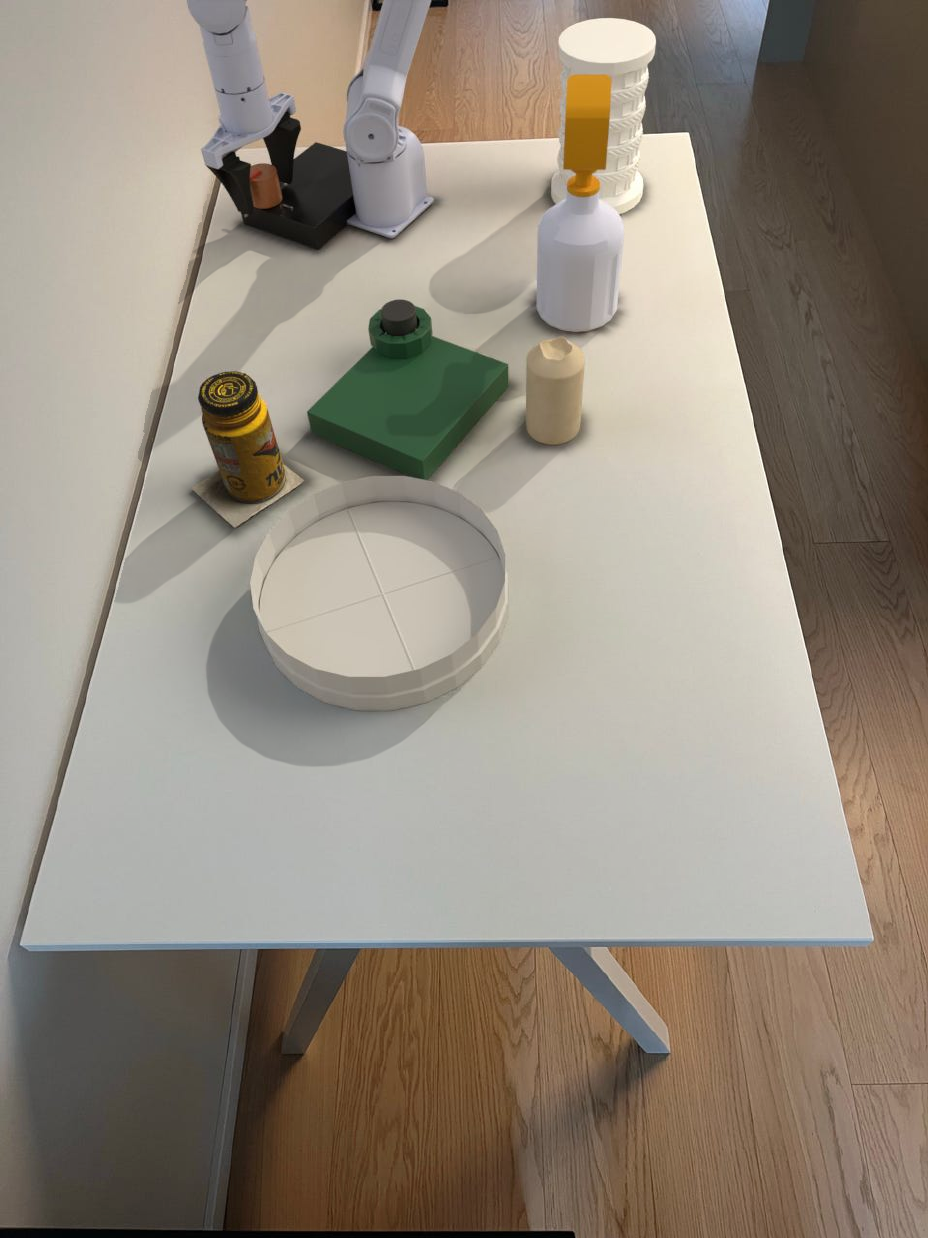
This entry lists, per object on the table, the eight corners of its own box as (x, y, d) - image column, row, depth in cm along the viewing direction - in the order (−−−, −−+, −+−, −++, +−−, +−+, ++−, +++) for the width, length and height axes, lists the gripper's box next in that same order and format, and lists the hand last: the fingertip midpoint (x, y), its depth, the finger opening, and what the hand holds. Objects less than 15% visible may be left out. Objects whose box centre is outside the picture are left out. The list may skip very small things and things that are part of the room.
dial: (264, 187, 120) (257, 157, 116) (289, 195, 118) (282, 165, 115) (243, 203, 118) (236, 173, 114) (268, 212, 116) (261, 181, 113)
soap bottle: (616, 284, 110) (638, 58, 90) (616, 335, 104) (638, 107, 84) (538, 282, 110) (542, 59, 90) (534, 333, 105) (537, 107, 85)
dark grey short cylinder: (395, 311, 101) (393, 295, 100) (423, 321, 100) (422, 305, 98) (376, 330, 100) (373, 314, 98) (404, 341, 98) (402, 324, 97)
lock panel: (313, 161, 128) (309, 138, 126) (392, 186, 124) (389, 162, 121) (226, 230, 120) (219, 206, 117) (307, 259, 115) (303, 235, 113)
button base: (396, 335, 106) (392, 297, 102) (514, 379, 101) (514, 341, 97) (302, 429, 98) (292, 392, 94) (425, 483, 93) (420, 445, 89)
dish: (236, 551, 89) (222, 516, 85) (457, 483, 93) (454, 446, 88) (296, 748, 76) (284, 718, 72) (549, 660, 80) (550, 626, 76)
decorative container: (634, 163, 124) (649, 12, 109) (649, 213, 117) (668, 59, 103) (545, 170, 124) (549, 20, 109) (556, 221, 117) (561, 68, 103)
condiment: (304, 481, 94) (279, 387, 84) (235, 529, 91) (200, 436, 81) (260, 445, 97) (231, 350, 87) (192, 490, 94) (153, 396, 84)
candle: (516, 435, 96) (516, 356, 88) (539, 401, 99) (541, 321, 91) (566, 452, 94) (571, 372, 86) (588, 417, 97) (595, 336, 89)
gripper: (252, 47, 111) (277, 160, 122) (168, 102, 104) (202, 217, 115) (300, 59, 109) (320, 173, 120) (217, 117, 102) (246, 232, 113)
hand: (265, 196), depth 118 cm, fingers open, 7 cm apart
